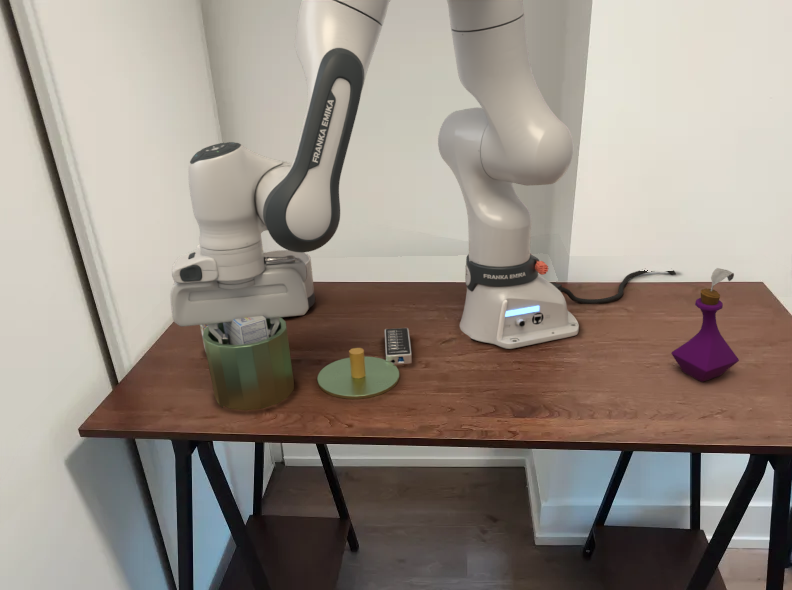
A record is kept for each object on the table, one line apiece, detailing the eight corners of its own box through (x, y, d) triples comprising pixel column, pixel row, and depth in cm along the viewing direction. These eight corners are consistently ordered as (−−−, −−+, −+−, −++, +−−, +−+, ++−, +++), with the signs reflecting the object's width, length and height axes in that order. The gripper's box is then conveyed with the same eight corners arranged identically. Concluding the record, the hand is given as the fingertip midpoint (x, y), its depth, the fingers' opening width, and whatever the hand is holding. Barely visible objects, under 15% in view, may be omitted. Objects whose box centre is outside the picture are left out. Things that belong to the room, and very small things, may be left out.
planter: (284, 292, 150) (278, 246, 145) (328, 304, 143) (323, 256, 138) (240, 312, 141) (232, 264, 136) (284, 326, 134) (277, 276, 129)
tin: (293, 370, 118) (285, 309, 113) (295, 407, 108) (286, 342, 102) (219, 378, 117) (207, 316, 111) (213, 417, 106) (199, 350, 100)
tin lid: (393, 358, 121) (391, 329, 118) (405, 397, 110) (404, 365, 107) (316, 366, 119) (312, 337, 116) (320, 406, 108) (316, 375, 105)
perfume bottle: (702, 389, 109) (724, 283, 100) (667, 370, 115) (685, 267, 106) (735, 377, 112) (760, 273, 103) (699, 359, 118) (719, 259, 109)
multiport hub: (408, 338, 128) (408, 327, 127) (412, 366, 119) (411, 354, 117) (385, 339, 128) (384, 328, 127) (386, 367, 118) (385, 355, 117)
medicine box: (274, 368, 108) (267, 317, 103) (248, 376, 105) (239, 325, 101) (254, 350, 113) (246, 301, 109) (228, 358, 111) (219, 308, 107)
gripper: (304, 247, 105) (313, 329, 112) (166, 258, 102) (184, 342, 109) (305, 261, 100) (315, 346, 106) (160, 273, 97) (179, 360, 104)
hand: (247, 344), depth 108 cm, fingers closed on medicine box, 6 cm apart
